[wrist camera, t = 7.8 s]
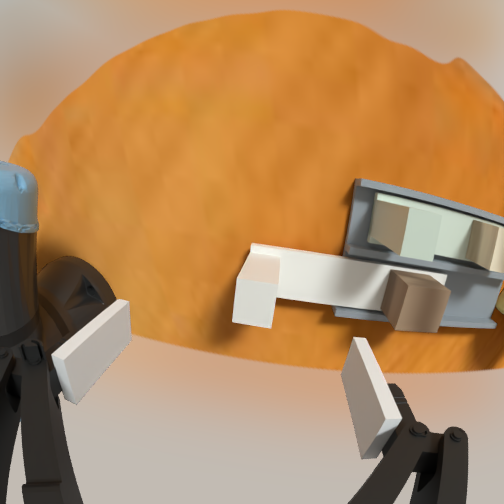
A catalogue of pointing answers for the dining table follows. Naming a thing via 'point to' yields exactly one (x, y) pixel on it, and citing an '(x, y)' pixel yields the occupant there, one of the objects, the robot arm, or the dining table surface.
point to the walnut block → (414, 301)
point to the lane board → (458, 271)
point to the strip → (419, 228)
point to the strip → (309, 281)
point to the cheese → (500, 302)
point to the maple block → (486, 246)
